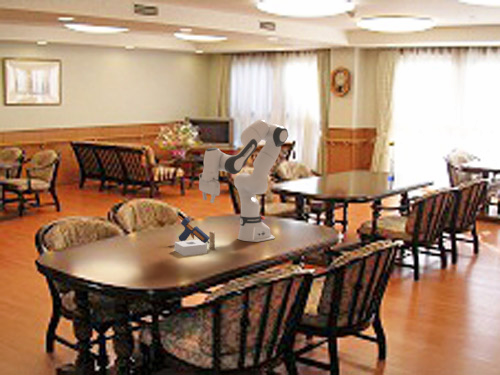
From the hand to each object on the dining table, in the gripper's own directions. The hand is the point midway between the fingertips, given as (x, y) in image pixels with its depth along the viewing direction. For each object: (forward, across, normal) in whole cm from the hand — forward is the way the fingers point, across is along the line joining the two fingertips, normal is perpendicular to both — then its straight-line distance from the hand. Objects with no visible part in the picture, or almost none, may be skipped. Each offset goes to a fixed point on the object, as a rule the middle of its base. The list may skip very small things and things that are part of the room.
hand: (208, 201), depth 371 cm
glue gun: (+27, +14, 0) cm, 31 cm away
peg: (+27, -4, -2) cm, 27 cm away
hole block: (+28, -5, +10) cm, 30 cm away
